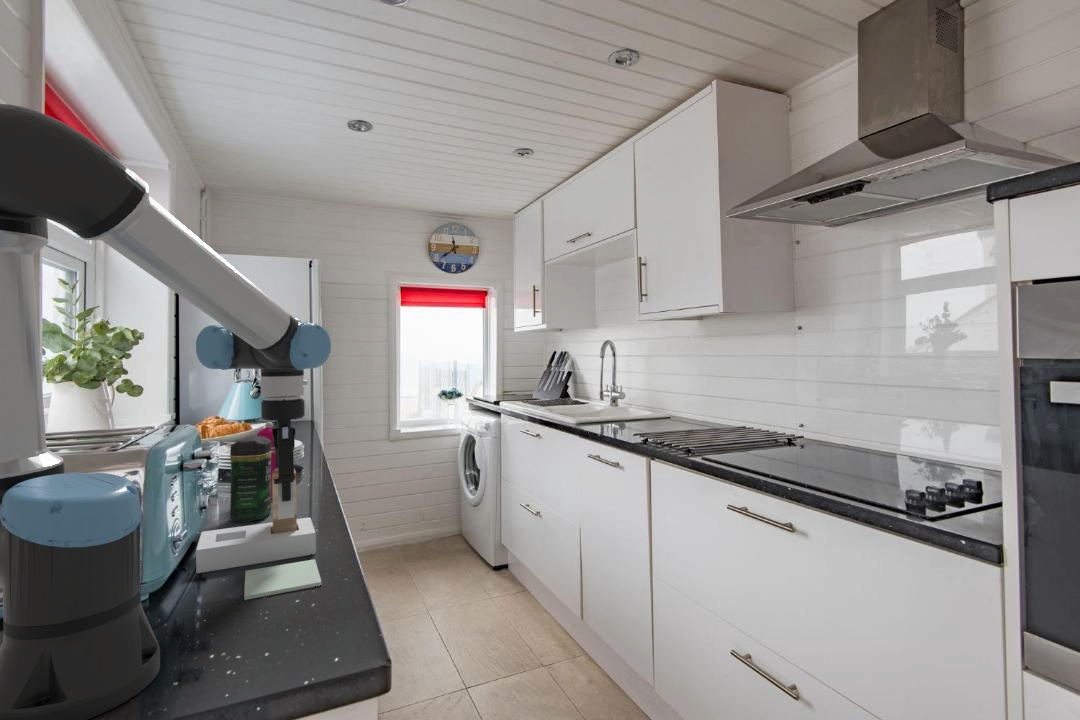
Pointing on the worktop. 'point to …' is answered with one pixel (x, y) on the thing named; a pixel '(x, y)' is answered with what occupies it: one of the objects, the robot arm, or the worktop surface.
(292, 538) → the white box
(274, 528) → the tan wooden tall block
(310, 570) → the mat
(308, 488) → the worktop surface
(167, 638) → the worktop surface
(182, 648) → the worktop surface
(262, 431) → the pepper mill
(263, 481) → the coffee jar
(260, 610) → the worktop surface
